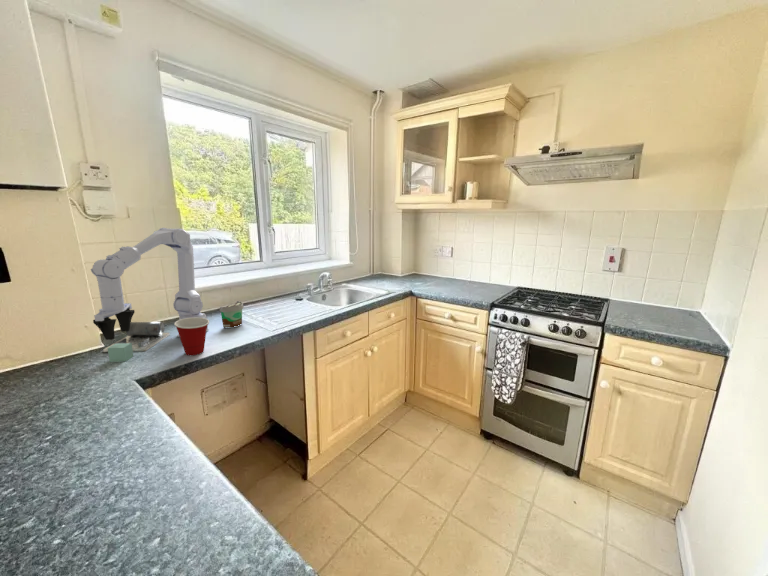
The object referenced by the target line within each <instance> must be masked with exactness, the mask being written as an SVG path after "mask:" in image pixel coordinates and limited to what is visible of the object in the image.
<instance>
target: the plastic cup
mask: <svg viewBox="0 0 768 576" xmlns="http://www.w3.org/2000/svg"><path fill="white" fill-rule="evenodd" d="M209 324H210V320H209V319H208V318H207V319H205V318H197V317H194V318H185V319H181V320H179V319H178V320H176V321H174V326H175V328H176V330H177V332H178V334H179V336H180V337H179V339H180V342H181V345H182V347H183V350H184V353H185V355H187V356H190V355H191V356H198V355H200V353H201V354H202V352H203V351H204V350H205V343H206V337H207V332H206V330H207V326H208V325H209ZM203 353H204V352H203ZM197 354H198V355H197Z"/></svg>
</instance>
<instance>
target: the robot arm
mask: <svg viewBox="0 0 768 576" xmlns="http://www.w3.org/2000/svg"><path fill="white" fill-rule="evenodd" d="M161 245H165V246H167V247H170V248H171V249H172V250H174V251H175V252H176V253H177V273H178V291H177V292H176V294H175V295H174V298H175V299H174V301H173V309H174V310H175V311H176V312H177V314H178V318H179V319H178V320H181V319H185V318H194V317H197V318H205V319H208V318H207V314H206V313H202V312H201V311H202V310H203V306H204V305H203V301H202V298H201V295H200V293H198V292H197V291H196V285H195V262H194V259H195V257H194V246H193V244H192V242H191V234H190V233H188V232H187V231H186V230H185V229H183V228H167V227H160V228H159V229H158V230H155V231H153V233H152V234H150V235H148V236H147V237H145V238H144V239H143V240H142V241H140V242H138V243H137V244H135V245H133V246H121V247H118V249H119V250H118V251H116V252H115V253H112V254H108V255H106V256H105V257H106V258H105V259H103V258H102V259H97V260H96V261H94V263H93V265H92V268H91V269H90V272H91V273H92V274H93V276H95V277H96V281H97V285H98V291H99V297H100V303H101V308H100V309H99V310H98V313H96V314H94V319H93V320H92V323H93V324H94V325H95V326H96V327H97V328H98V329H99V330H100V331H101V333H102V335H103V337H104V339H105V341H107V340H111V341H113V340H114V339H115V324H116V322H118V326H119V328H120V331H121V332H126V331H129V329H130V323H131V322H132V319H133V316H134V314H135V313H136V312H135V309H132V308H133V307H132V303H131V302H130V303H127V302H125V300H124V299H125V298H124V292H123V285H122V279H121V277H122V275H123V274H124V272H125V270H126V269H128V268H129V267H131V266H133V265H134V264H136V263H137V262H139V261H140V260H141V258H142V255H144V254H145V253H147V252H149V251H151V250H152V249H155V248H156V247H158V246H161ZM113 316H115V317H116V318H111V317H113ZM209 330H210V329H209V328H208V326H207V330H206V333H207V332H208V331H209ZM176 337H178V338H180V336H179V333H178V334H177V335H176Z"/></svg>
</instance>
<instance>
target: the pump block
mask: <svg viewBox="0 0 768 576" xmlns="http://www.w3.org/2000/svg"><path fill="white" fill-rule="evenodd" d="M113 344H114V343H113ZM111 345H112V344H111ZM109 346H110V345H109ZM107 354H108V358H109V359H108V360H109V363H111V362H112V363H115V362H116V363H117V362H118V363H119V362H120V363H121V362H127V361H130V359H132V358H133V357H134V351H133V349H132V343H120V344H114V345H112V346H110V347H109V348H108V352H107Z"/></svg>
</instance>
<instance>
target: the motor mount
mask: <svg viewBox="0 0 768 576" xmlns="http://www.w3.org/2000/svg"><path fill="white" fill-rule="evenodd" d="M170 334H171V333H170V332H165V323H164V322H162V321H131V323H130V329H129V331H126V335H127V336H125V337H123V338H121V339H120V340H117V341H115V342H114V343H112V344H110V345H109V346H107V347H104V348H103V349H102V352H103V353H108V348H109V347H110V346H112V345H114V344H120V343H132V349H133V352H146V351H148V350H149V349H151V348H153V347H154V346H156V345H157V344H159V343H160V342H162V341H163V340H164V339H166V338H167V337H169V336H170Z"/></svg>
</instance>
